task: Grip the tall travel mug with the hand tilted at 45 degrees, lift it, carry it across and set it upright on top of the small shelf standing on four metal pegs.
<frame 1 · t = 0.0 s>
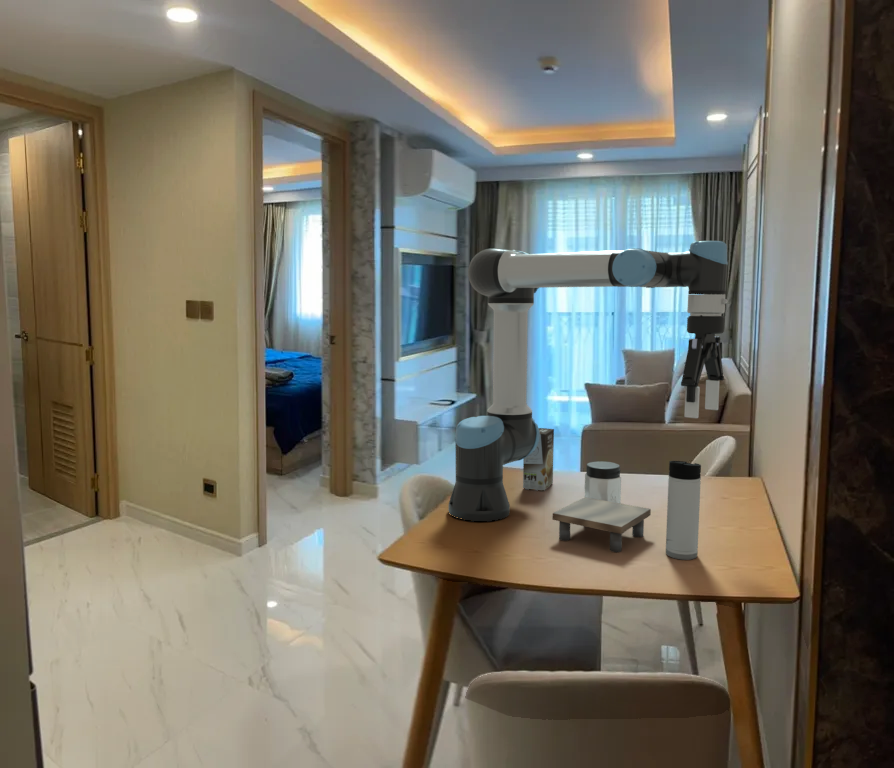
hand: (701, 413, 156), 28 cm above the table, tool pointing down, fingers open, 13 cm apart
coffee box: (538, 487, 203), on the table
travel mug: (681, 556, 149), on the table
jar: (601, 513, 179), on the table
peg shelf: (601, 537, 160), on the table
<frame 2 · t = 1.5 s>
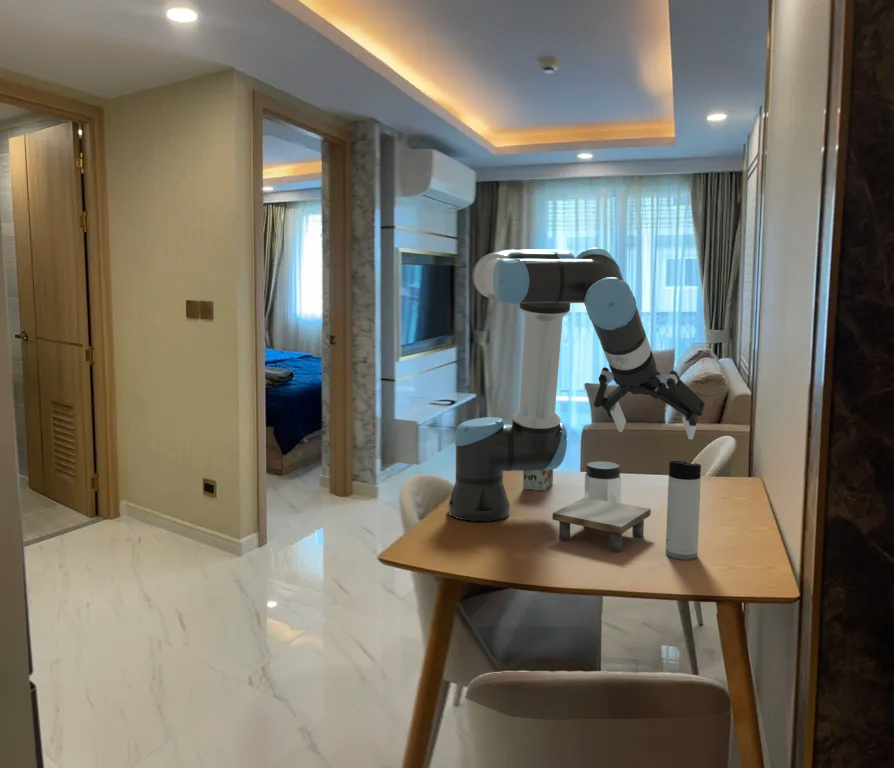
hand: (656, 429, 138), 28 cm above the table, tool tilted 45°, fingers open, 13 cm apart
nothing on the table moved.
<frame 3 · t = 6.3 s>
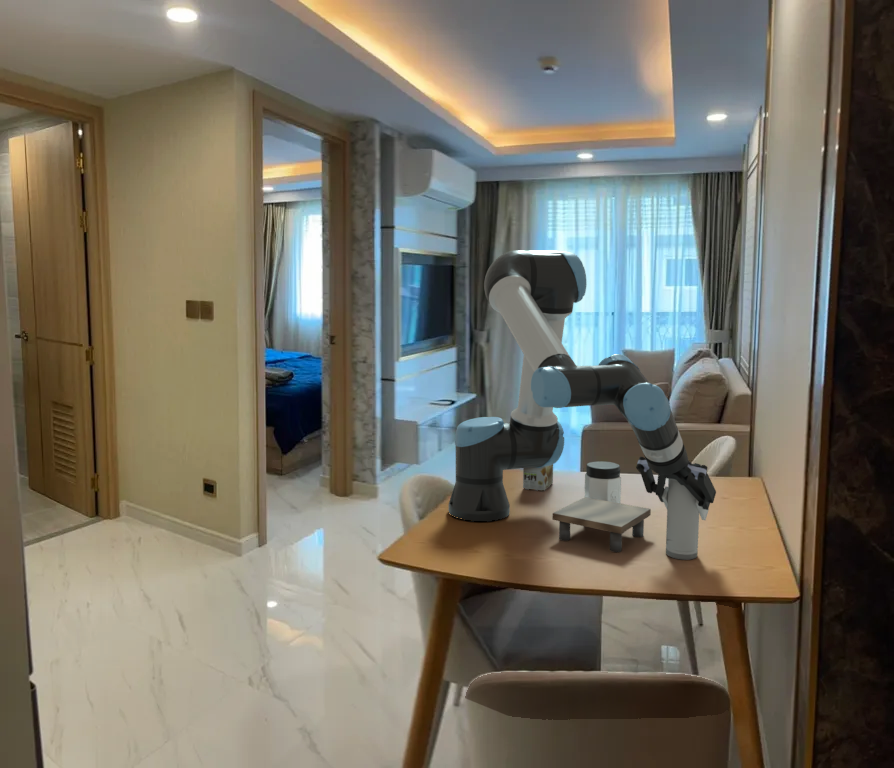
hand: (688, 511, 151), 8 cm above the table, tool tilted 45°, fingers closed on travel mug, 6 cm apart
travel mug: (681, 555, 149), on the table, touching gripper
everything else where it was.
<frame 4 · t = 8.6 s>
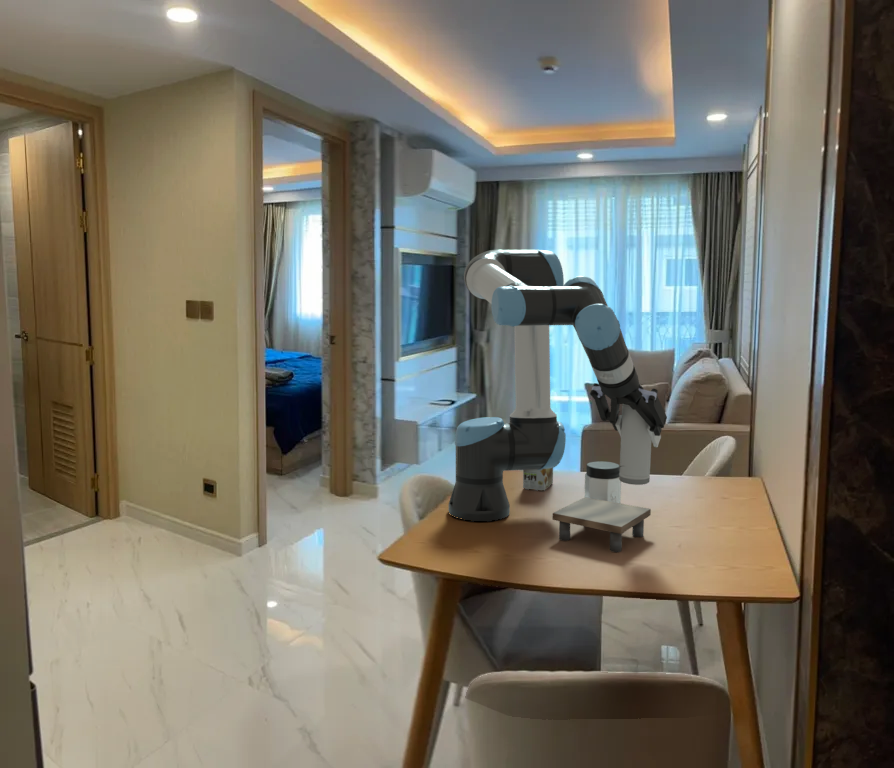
hand: (641, 439, 155), 23 cm above the table, tool tilted 45°, fingers closed on travel mug, 6 cm apart
travel mug: (633, 482, 153), point 14 cm above the table, touching gripper
everything else where it was.
when the fingers open (16 cm above the table, at t = 11.0 s): travel mug drops 1 cm, resting on peg shelf.
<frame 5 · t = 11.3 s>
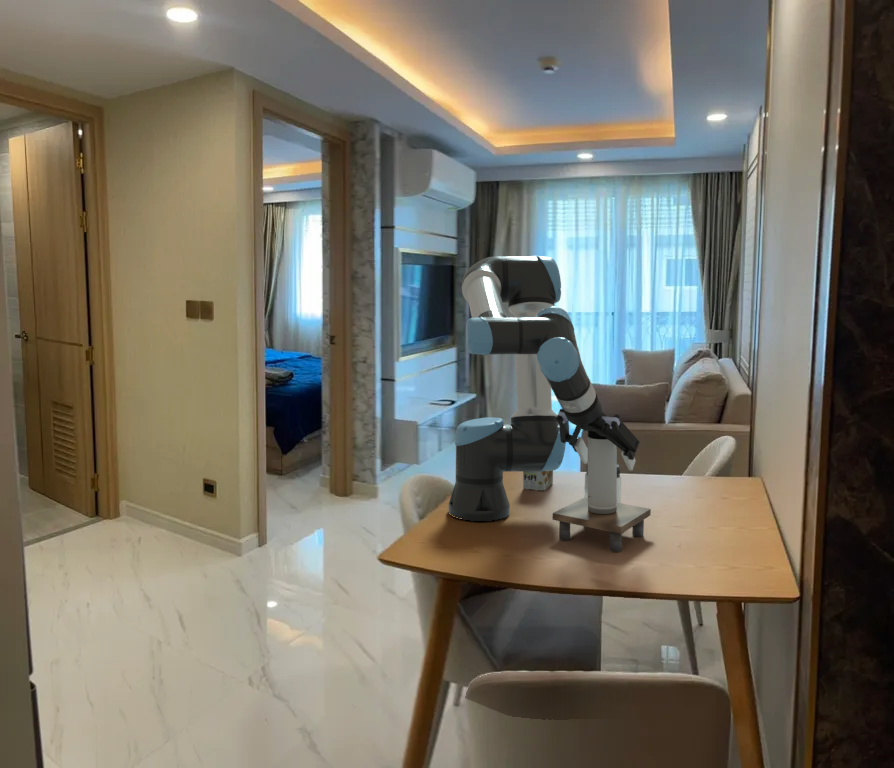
hand: (609, 461, 160), 17 cm above the table, tool tilted 45°, fingers open, 10 cm apart
travel mug: (601, 511, 159), point 6 cm above the table, touching peg shelf
everything else where it was.
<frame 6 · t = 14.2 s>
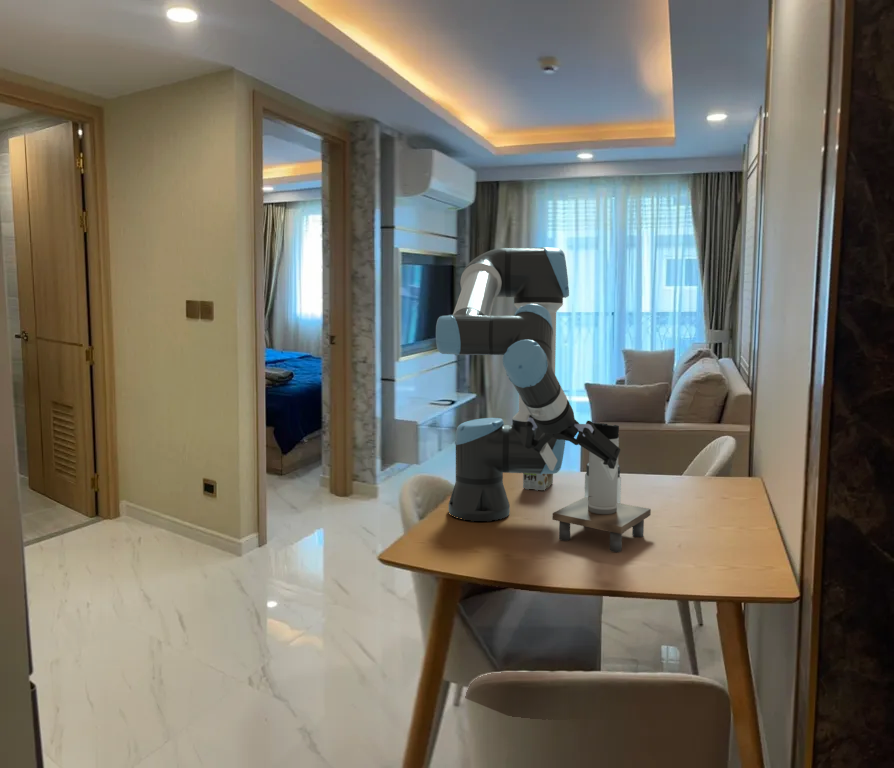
hand: (582, 470, 150), 17 cm above the table, tool tilted 45°, fingers open, 13 cm apart
nothing on the table moved.
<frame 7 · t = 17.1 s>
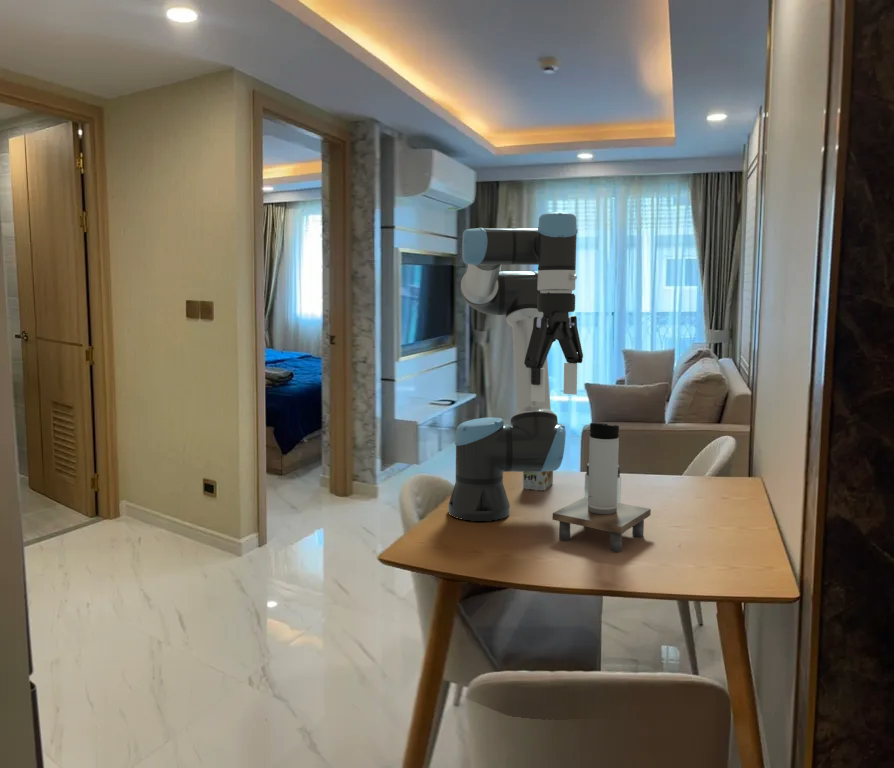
hand: (554, 397, 146), 33 cm above the table, tool pointing down, fingers open, 13 cm apart
nothing on the table moved.
at the end: travel mug inside the target area on the peg shelf (0.1 cm from its centre), point 5.8 cm above the peg shelf's base; travel mug tilted 0°; the gripper is holding nothing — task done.
